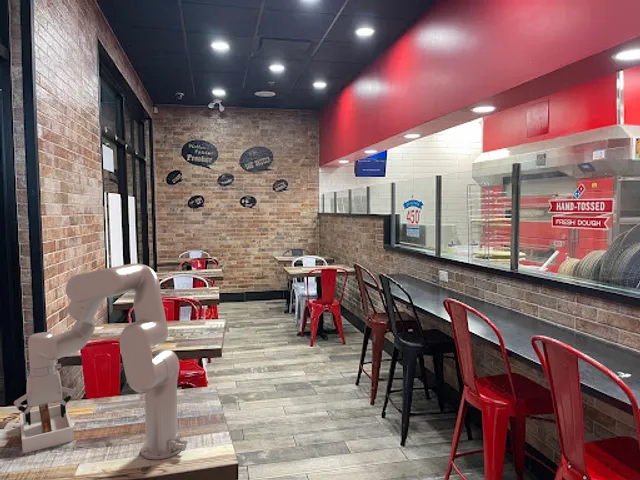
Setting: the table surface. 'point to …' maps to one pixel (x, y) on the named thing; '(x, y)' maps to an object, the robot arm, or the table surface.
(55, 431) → the tote
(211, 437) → the table surface
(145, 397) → the robot arm
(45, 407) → the tin
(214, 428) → the table surface
